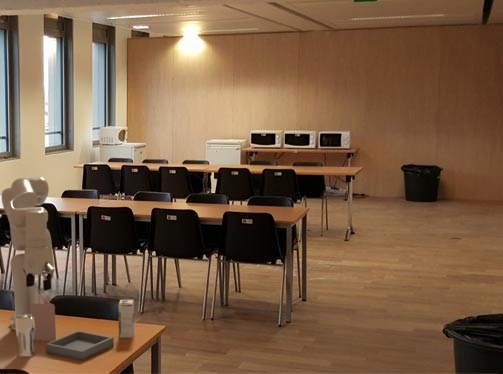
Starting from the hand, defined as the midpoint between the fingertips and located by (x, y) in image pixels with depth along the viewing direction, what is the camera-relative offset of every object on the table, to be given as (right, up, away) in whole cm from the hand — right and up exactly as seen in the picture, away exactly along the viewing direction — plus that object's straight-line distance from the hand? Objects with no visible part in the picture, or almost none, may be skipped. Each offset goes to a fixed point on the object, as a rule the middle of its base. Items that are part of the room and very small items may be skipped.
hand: (38, 287), depth 271 cm
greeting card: (-4, -24, +18) cm, 30 cm away
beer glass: (-5, -26, +1) cm, 26 cm away
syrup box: (+29, -23, +22) cm, 43 cm away
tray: (+14, -25, +7) cm, 29 cm away
